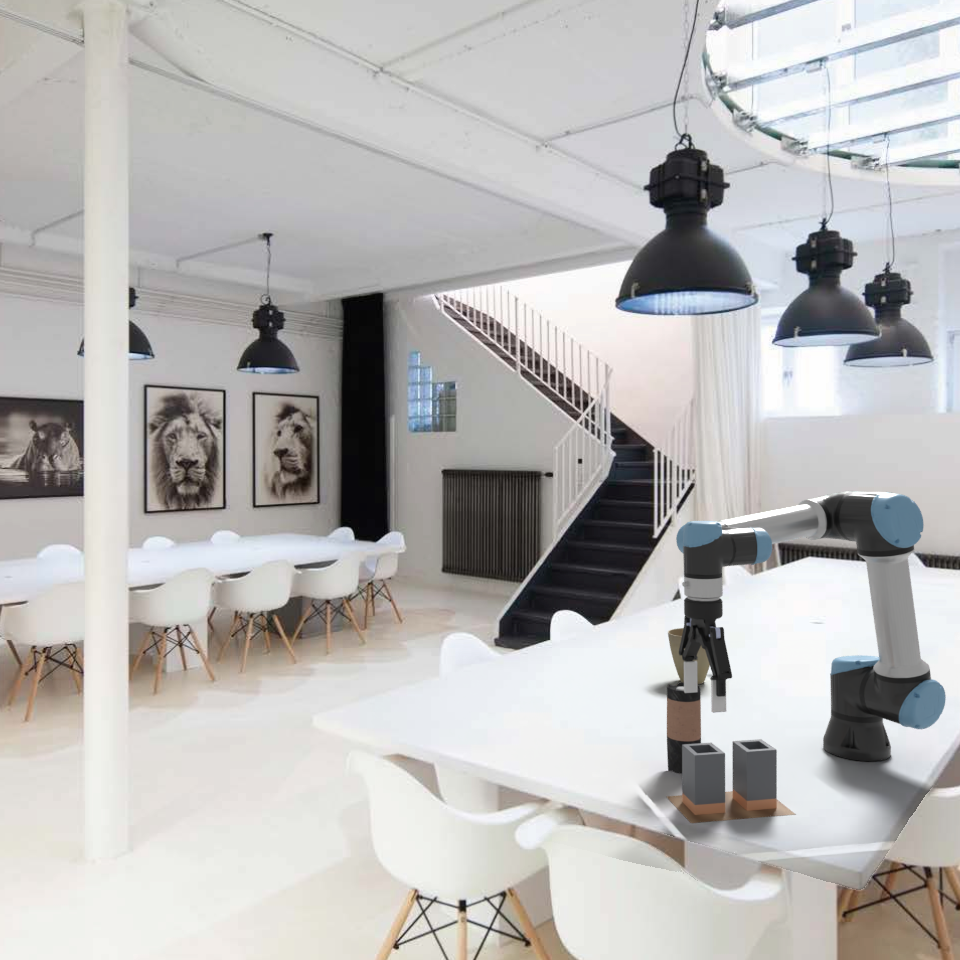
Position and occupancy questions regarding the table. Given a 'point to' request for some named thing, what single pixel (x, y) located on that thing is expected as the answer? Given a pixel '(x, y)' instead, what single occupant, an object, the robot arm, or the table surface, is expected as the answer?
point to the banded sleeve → (703, 778)
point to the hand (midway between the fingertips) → (704, 701)
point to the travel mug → (681, 723)
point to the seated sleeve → (754, 774)
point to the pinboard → (728, 810)
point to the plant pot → (675, 642)
